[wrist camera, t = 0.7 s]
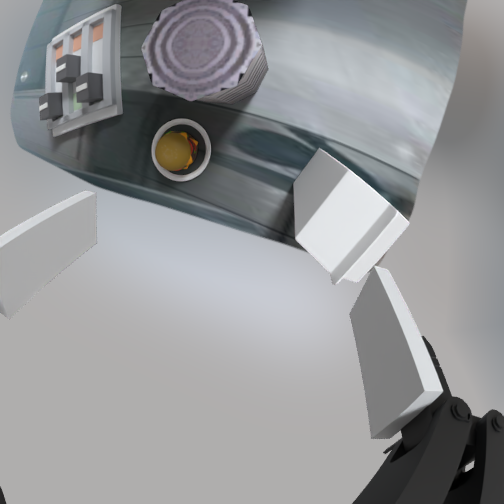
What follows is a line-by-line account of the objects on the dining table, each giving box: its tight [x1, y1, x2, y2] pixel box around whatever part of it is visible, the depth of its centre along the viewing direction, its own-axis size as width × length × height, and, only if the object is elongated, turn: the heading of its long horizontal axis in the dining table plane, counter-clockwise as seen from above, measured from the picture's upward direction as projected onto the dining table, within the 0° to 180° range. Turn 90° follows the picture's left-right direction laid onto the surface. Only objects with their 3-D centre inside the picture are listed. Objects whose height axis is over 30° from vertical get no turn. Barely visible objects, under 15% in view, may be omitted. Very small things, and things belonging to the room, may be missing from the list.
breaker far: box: [39, 92, 63, 120], centre depth 29 cm, size 4×2×4 cm, turn 4°
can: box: [141, 0, 268, 104], centre depth 24 cm, size 11×11×12 cm
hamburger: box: [152, 119, 211, 181], centre depth 33 cm, size 12×12×6 cm
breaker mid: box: [56, 54, 81, 83], centre depth 27 cm, size 4×2×4 cm, turn 4°
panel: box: [46, 4, 123, 137], centre depth 29 cm, size 20×15×3 cm
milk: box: [293, 148, 410, 285], centre depth 25 cm, size 6×6×22 cm
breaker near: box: [76, 72, 104, 103], centre depth 28 cm, size 4×2×4 cm, turn 4°
